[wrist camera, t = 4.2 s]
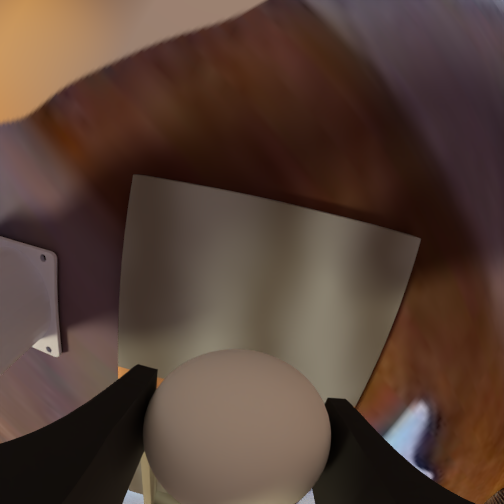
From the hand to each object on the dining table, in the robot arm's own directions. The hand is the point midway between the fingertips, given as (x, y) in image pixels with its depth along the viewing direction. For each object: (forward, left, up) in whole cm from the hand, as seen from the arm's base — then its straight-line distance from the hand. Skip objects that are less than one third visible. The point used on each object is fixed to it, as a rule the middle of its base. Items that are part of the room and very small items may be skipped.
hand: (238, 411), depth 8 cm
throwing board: (+1, -9, -9) cm, 13 cm away
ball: (0, 0, +1) cm, 1 cm away
